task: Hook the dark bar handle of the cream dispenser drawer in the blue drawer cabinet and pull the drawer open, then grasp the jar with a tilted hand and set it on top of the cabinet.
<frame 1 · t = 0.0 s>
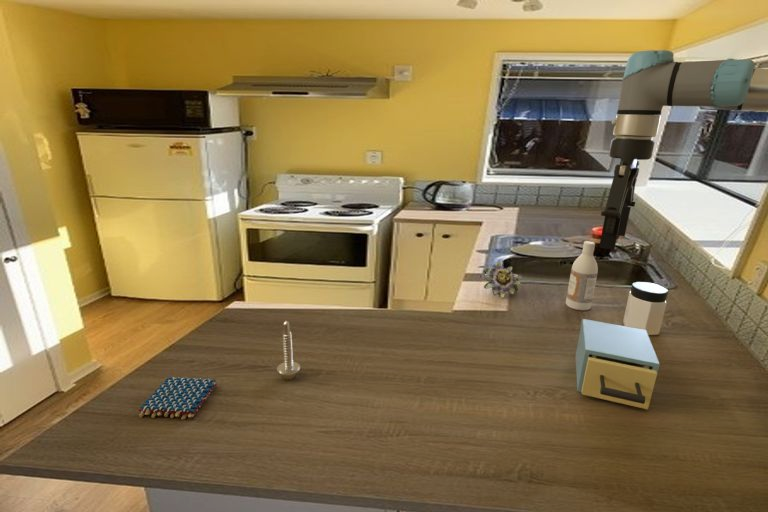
hand: (612, 241, 90), 29 cm above the worktop, tool pointing down, fingers open, 13 cm apart
woven mat: (180, 401, 81), on the worktop
passion flower: (498, 293, 136), on the worktop
jar: (640, 329, 114), on the worktop
screw: (289, 377, 89), on the worktop
dispenser drawer: (615, 373, 85), point 5 cm above the worktop, slide at 1.0 cm
blue drawer cabinet: (608, 379, 91), on the worktop
bath foam: (577, 306, 127), on the worktop
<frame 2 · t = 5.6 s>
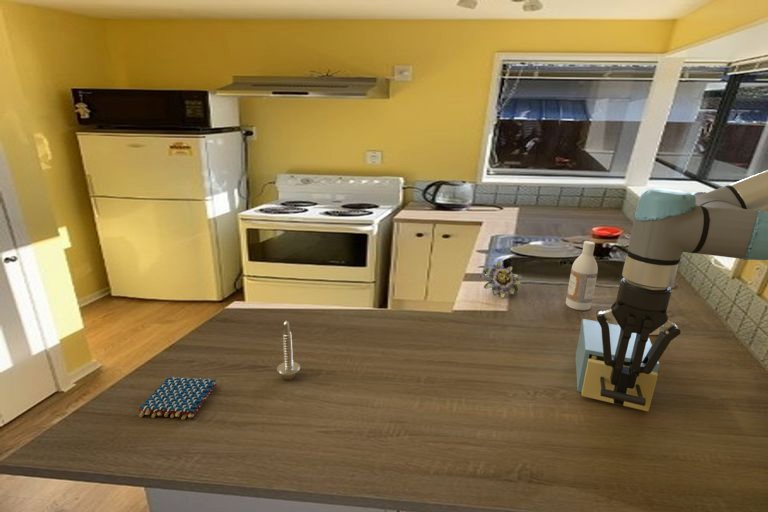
hand: (617, 399, 79), 4 cm above the worktop, tool pointing down, fingers closed
dispenser drawer: (616, 375, 84), point 5 cm above the worktop, slide at 1.6 cm, touching gripper
everything else where it was.
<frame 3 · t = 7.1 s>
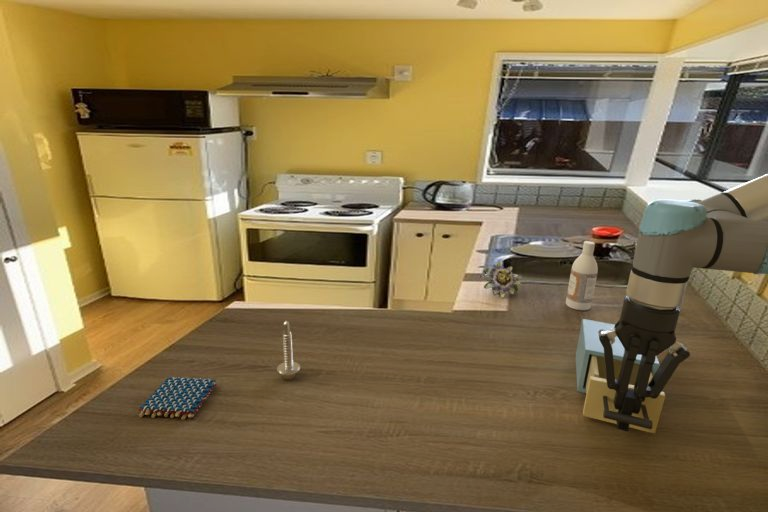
hand: (621, 425, 73), 3 cm above the worktop, tool pointing down, fingers closed
dispenser drawer: (619, 393, 79), point 5 cm above the worktop, slide at 8.0 cm, touching gripper
everything else where it was.
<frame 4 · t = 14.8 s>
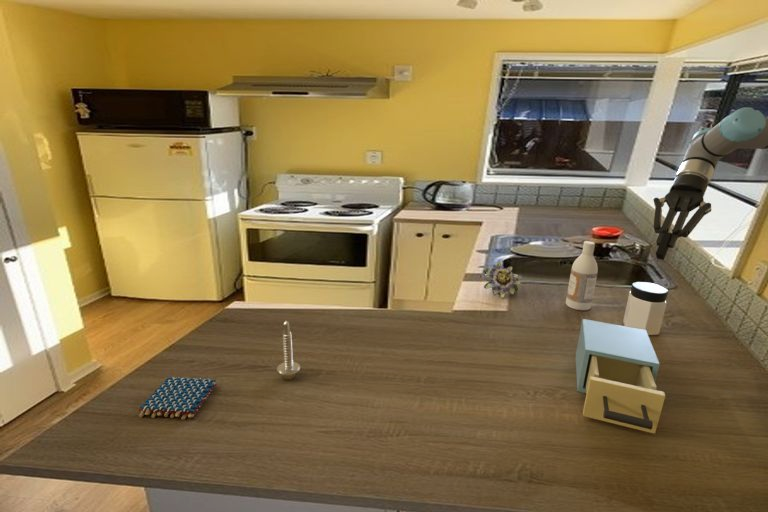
hand: (659, 256, 106), 21 cm above the worktop, tool tilted 40°, fingers closed
dispenser drawer: (619, 393, 79), point 5 cm above the worktop, slide at 8.1 cm
everything else where it was.
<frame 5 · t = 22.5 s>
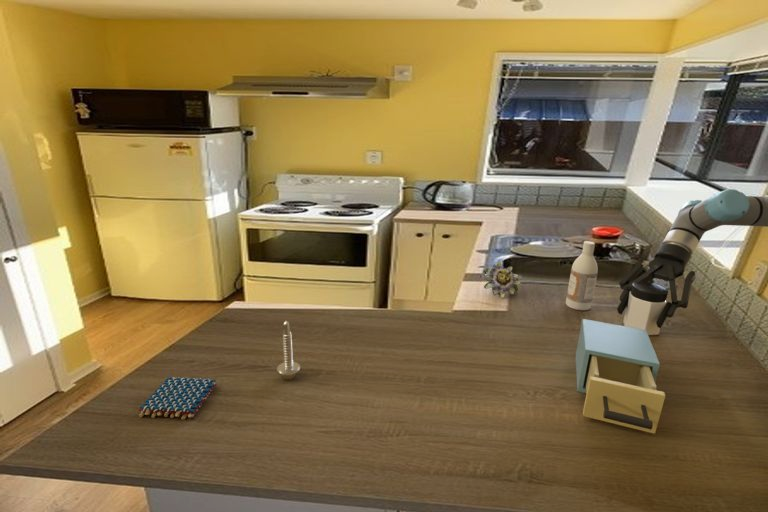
hand: (638, 318, 111), 4 cm above the worktop, tool tilted 45°, fingers closed on jar, 9 cm apart
jar: (640, 329, 114), on the worktop, touching gripper
everything else where it was.
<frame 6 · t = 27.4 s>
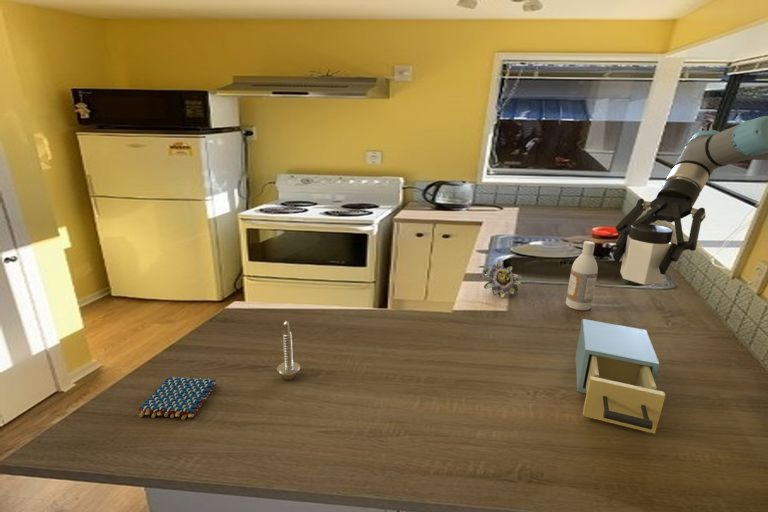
hand: (637, 264, 95), 23 cm above the worktop, tool tilted 45°, fingers closed on jar, 9 cm apart
jar: (640, 279, 98), point 18 cm above the worktop, touching gripper
everything else where it was.
when the fingers open (14 cm above the worktop, at t = 32.3 s): jar stays where it is, resting on blue drawer cabinet.
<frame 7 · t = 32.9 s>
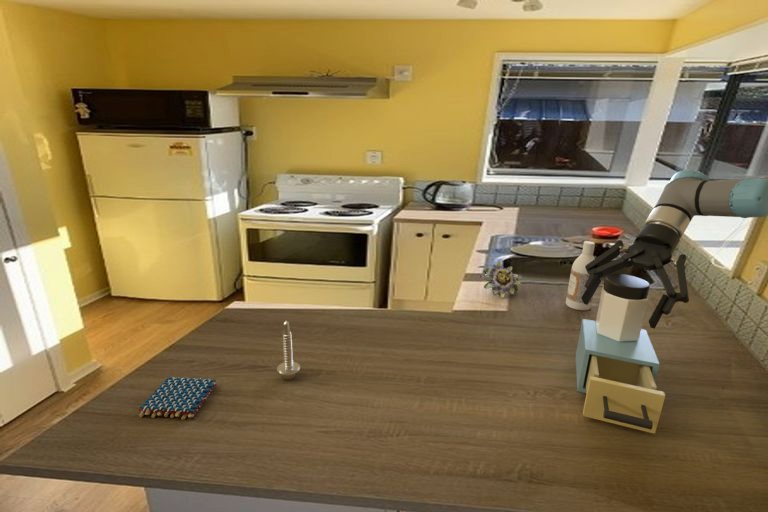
hand: (615, 312, 88), 15 cm above the worktop, tool tilted 45°, fingers open, 13 cm apart
jar: (615, 333, 91), point 10 cm above the worktop, touching blue drawer cabinet
everything else where it was.
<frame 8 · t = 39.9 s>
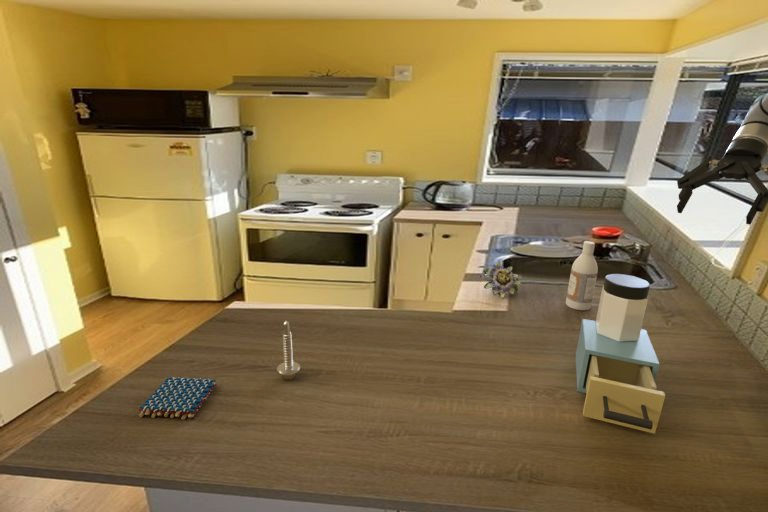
hand: (711, 215, 99), 33 cm above the worktop, tool tilted 45°, fingers open, 13 cm apart
nothing on the worktop moved.
at the end: dispenser drawer slide at 8.1 cm; jar inside the target area on the blue drawer cabinet (3.1 cm from its centre), point 9.6 cm above the blue drawer cabinet's base; jar tilted 0° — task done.
